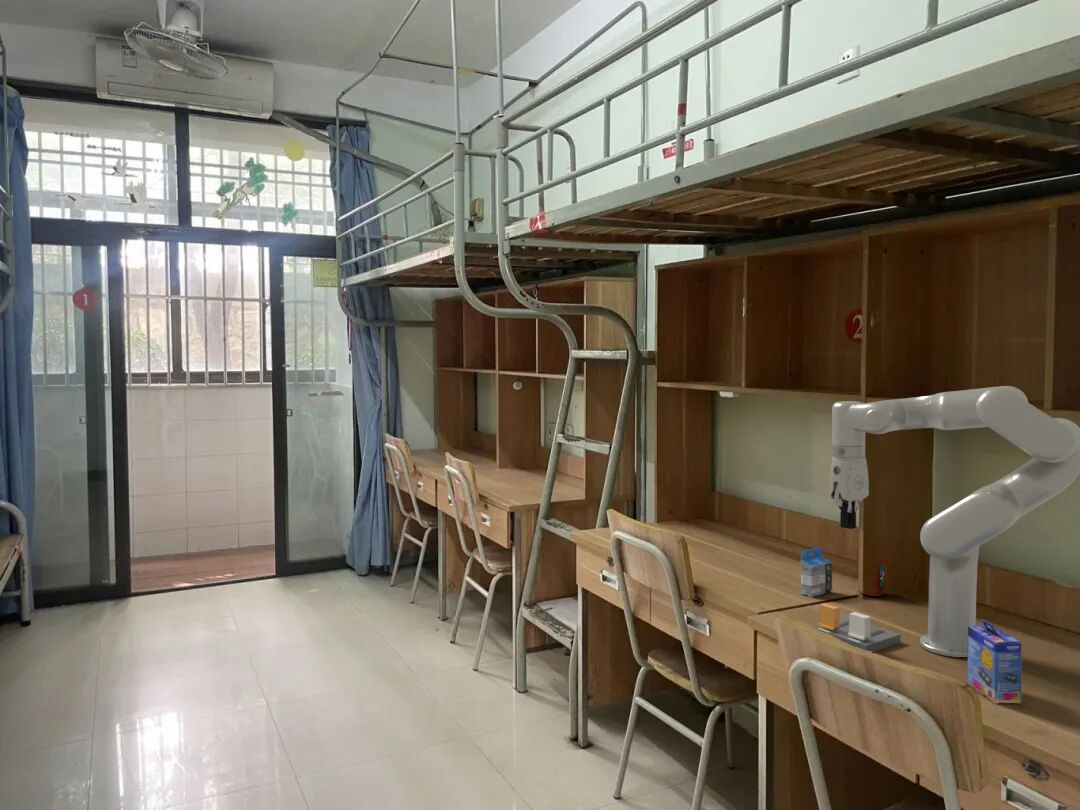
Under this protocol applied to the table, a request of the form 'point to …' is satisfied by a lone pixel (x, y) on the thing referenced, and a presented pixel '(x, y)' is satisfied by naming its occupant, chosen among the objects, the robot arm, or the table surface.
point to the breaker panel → (875, 643)
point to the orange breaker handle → (829, 616)
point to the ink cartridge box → (994, 662)
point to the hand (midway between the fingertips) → (848, 527)
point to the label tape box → (815, 573)
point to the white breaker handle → (859, 626)
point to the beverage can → (879, 580)
